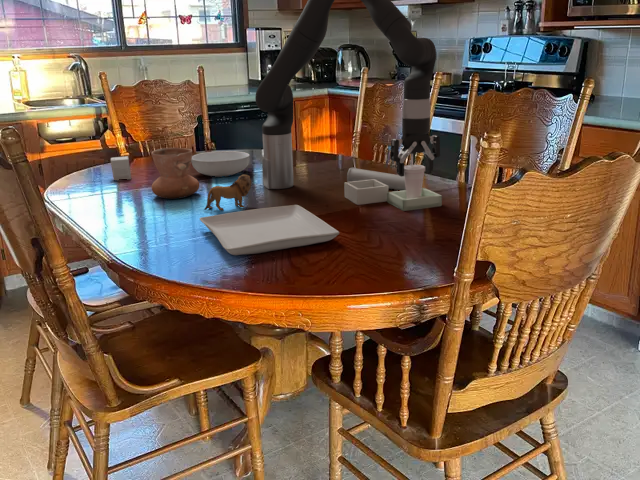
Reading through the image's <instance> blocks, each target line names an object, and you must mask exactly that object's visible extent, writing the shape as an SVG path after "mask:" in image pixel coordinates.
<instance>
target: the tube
mask: <svg viewBox="0 0 640 480" xmlns="http://www.w3.org/2000/svg"><path fill="white" fill-rule="evenodd" d="M371 179H375V180H377V181H379V182H381V183H383V184H386V185H388V186H389V190H392V189H394V191H398V190H400V191H402V190H406V187H405V179H404V176H402V177H401V176H399V175H398V174H393V173H389V172H388V173H387V172H380V171H375V170H369V169H363V168H362V169H361V168H356V167H350V168H348V171H347V173H346V181H347V182H352V181H361V180H371Z"/></svg>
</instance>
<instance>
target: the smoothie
mask: <svg viewBox="0 0 640 480" xmlns="http://www.w3.org/2000/svg"><path fill="white" fill-rule="evenodd" d="M425 167H426V165H425V166H424V165H422V164H414V154H411V153H410V164H408V165H404V179H405V187H406V195H407V199H410V198H418V197H421V192H422V188H423V185H424V184H423V183H424V176H425V172H426V171H425Z"/></svg>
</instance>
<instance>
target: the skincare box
mask: <svg viewBox="0 0 640 480" xmlns="http://www.w3.org/2000/svg"><path fill="white" fill-rule="evenodd" d="M129 160H130V159H129V156H128V155H127V156H126V155H125V156H115V157H110V164H111V171H112V172H111V173H112V177H113V181H114V180H117V181H120V180H119V179H127V180H132V174H131V168H130V167H131V166H130V161H129Z"/></svg>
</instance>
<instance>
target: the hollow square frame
mask: <svg viewBox="0 0 640 480" xmlns="http://www.w3.org/2000/svg"><path fill="white" fill-rule="evenodd" d="M389 190H390V189H389V186H388V185H386V184H383V183H381V182H379V181H377V180H375V179H371V180H361V181H352V182H348V181H347V182H344V198H346V199H347V200H349V201H350V202H351V203H353V204H355V205H357V206H359V205H368V204H376V203H383V202H387V192H389Z"/></svg>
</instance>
